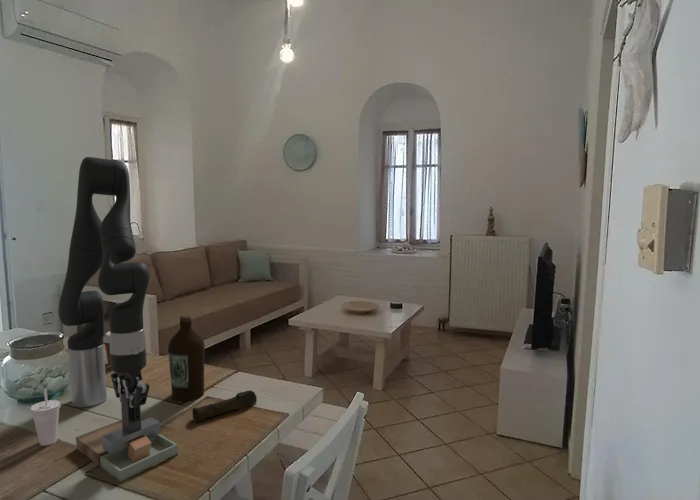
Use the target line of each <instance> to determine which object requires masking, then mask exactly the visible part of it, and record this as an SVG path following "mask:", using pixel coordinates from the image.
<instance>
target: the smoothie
mask: <svg viewBox="0 0 700 500" xmlns="http://www.w3.org/2000/svg"><path fill="white" fill-rule="evenodd" d="M43 393H44V394H43V396H44V401H40V402H37V403H35V404H33V405H32V406H30V411H29V412H30V414H31V415H32V418H33V422H34V427H35V430H36V431H35V432H36V434H37V438H38V443H39V445H40V446H42V447H44V446H50V445H53V444H55V443H56V442H57V441H58V430H59V429H58V428H59V417H60V408H61V406H62V405H61V401H59V400H58V399H49V400H48V389H47V388H45V389H43Z"/></svg>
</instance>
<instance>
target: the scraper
mask: <svg viewBox="0 0 700 500" xmlns="http://www.w3.org/2000/svg"><path fill="white" fill-rule="evenodd" d="M134 392H136V391H134ZM134 392H131V393H134ZM131 393H130V394H131ZM133 402H134V397H133ZM120 404H121V405H120V407H121V420H122V429H120V430H117V431H115V432H112V433H109V434H107V435H104V436H102V443H103V449H104V450H105V451H107V452H108V453H110V454H111V455H112V454H114V453H116V452H119V451H121V450H123V449H126V448H128V447H129V443H130V442H132V441H135V440H137V439H139V438H142V437H144V436H147V438H148V439H149V438H151V437H154V436H156V435H158V434H160V435H161V421H159V420H157V419H156V418H153V417H151V416H150V417H148V418H145V419H143V420H142V416H141V415H142V414H141V413H142V412H141V411H142V410H140V417H141V418H140V420H139V421H136V422H134V423H132V422H131V421H130V409H129V407H130V406H129V399H128V398H126V394H125V392H124V393H121V402H120Z"/></svg>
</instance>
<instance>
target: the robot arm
mask: <svg viewBox="0 0 700 500" xmlns="http://www.w3.org/2000/svg"><path fill="white" fill-rule="evenodd" d="M77 180H78V181H77V195H76V197H77V198H76V208H75V215H74V223H73V225H72V226H73V227H72V232H71V233H72V234H71V237H70V242H69V243H70V244H69V251H68V260H67V261H68V262H67V269H66V274H65V279H64V283H63V286H62V290H61V294H60V298H59V301H58V317H59V321H60V323H62V324H63V326H67V327H72V326H74V327H75V326H79V325H84V324H85V325H84V326H83V327H82V328H81V329H80V330H79V331H77V332H76V333H74V334H72V335H70V336H69V337H68V338H67V353H68V354H67V355H68V364H69V365H68V366H69V380H70V381H69V382H70V398H71V399H70V400H71V406H73V407H74V408H90V407H94V406H97V405H100V404H102V403H103V402H104V401H106V400H107V399H108V398H107V397H108V395H107V377H106V364H105V363H106V362H105V361H106V360H105V342H103V337H105V304H104V299H103V296H102V294H101V293H100V292H99V291H97V290H88V291H87V290H86V291H83V290H84V288H85V286H86V284H88V282H90V280H91V278H93V276H95V275H96V273H98V272H99V273H98V277H97V279H98V281H97V282H98V283H97V285H98V288H99V290H100V291H101V292H102V293H103V294H104V295H106V296H118V295H127V294H128V295H129V294H131V296H130V297H129V298H128V299H126V301H123V302H120V303H117V304H114V305H112V306H111V307H110V309H109V312H108V316H109V318H108V319H109V331H110V340H109V343H110V361H111V368H110V369H111V371H112V372H113V373H110V378H111V382H112V385H113V389H114V394H115V397H116V398H117V399H118V398H119V402H120V403H121V393H124V392H125V394H126V398H128V399H129V406H130V407H129V409H130V421H131V422H132V423H134V422H136V421H139V420H140V418H141V419H142V416H141V417H140V411H141V406H144V405H146V404H147V400H148V394H149V391H150V384H149V383H147V382H146V383H144V382H143V376H142V370H143V369H144V368H145V367H146V365H147V349H146V347H147V346H146V345H147V344H146V335H145V330H144V329H145V328H144V304H145V298H146V295H147V290H148V287H149V284H150V278H151V277H150V275H151V274H150V269H149V268H148V267H147V265H146V264H145V263H144V262H138V261H136V262H135V261H134V262H128V261H130V260H131V259H133V258H134V257H135V256H136V244H135V239H134V233H133V230H132V229H133V228H132V221H131V220H132V218H131V217H132V216H131V185H130V184H131V183H130V172H129V169H128V166H127V165H126V163H125V162H123V161H122V160H121V161H119V160H115V159H109V158H108V159H107V158H100V157H93V156H86V157H84V158H83V159H82V160H81V163H80V166H79V172H78V179H77ZM94 195H101V196H102V195H103V196H113V197H114V196H115V201H114V204H113V206H112V207H111V209H110V210H109V211H108V212H107V214H106V215H105V216H104V218H103V219H101V218H100V217H99V215H98V213H97V211H96V209H95V206H94V203H93V196H94ZM134 391H136V392H134ZM131 392H134V393H131ZM130 393H131V394H130ZM133 397H134V402H133Z"/></svg>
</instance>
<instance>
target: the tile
mask: <svg viewBox="0 0 700 500" xmlns="http://www.w3.org/2000/svg"><path fill="white" fill-rule="evenodd" d="M150 447H151V441H150V440H149V439H148V438H147V436H144V437H142V438H139V439H137V440H135V441H132V442H130V443H129V449H128V454H127V456H128V457H129V459H130V460H131V461H132V463H133V462H135V461H137V460H139V459H142V458H144V457H146V456H148V455H149V452H150Z"/></svg>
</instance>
